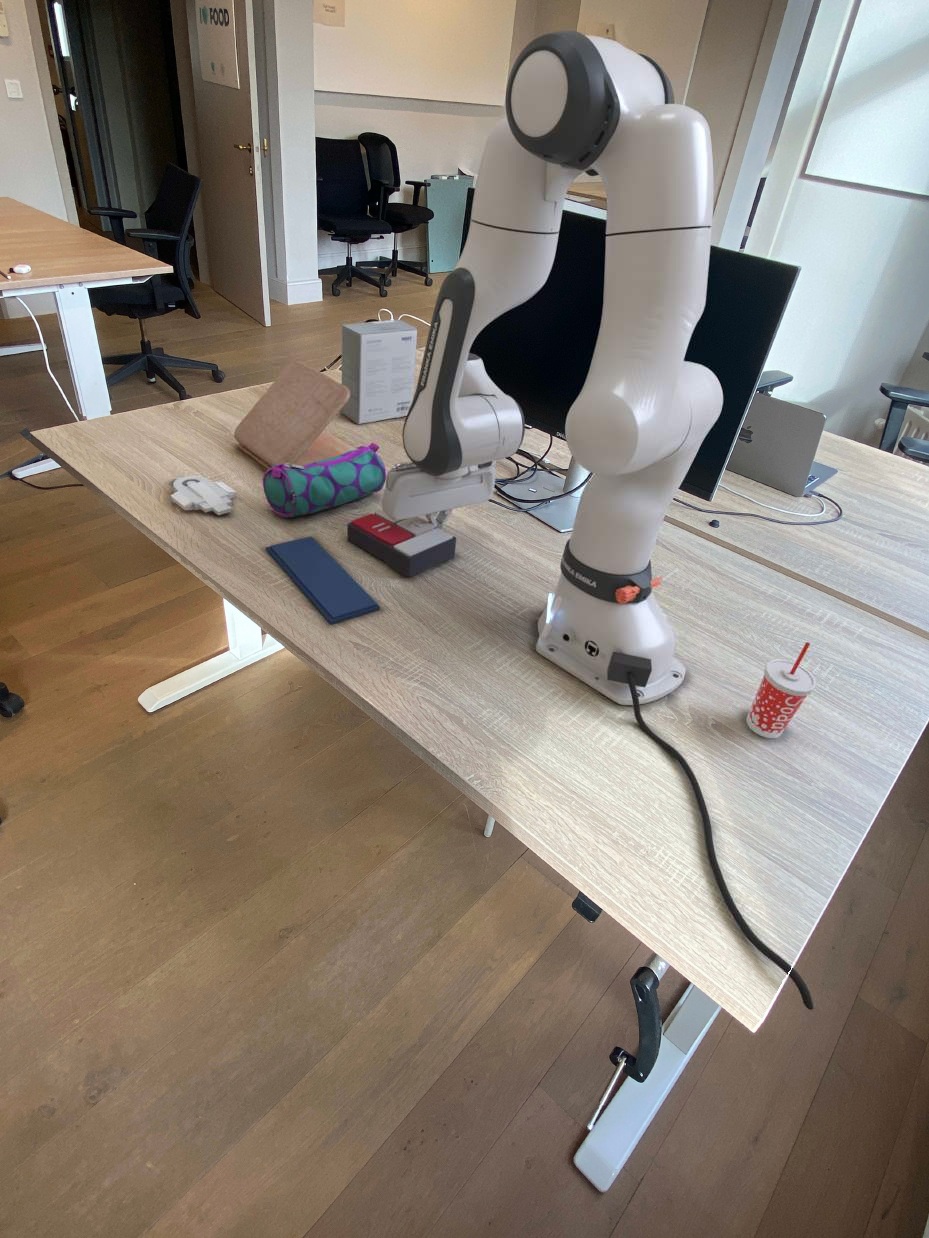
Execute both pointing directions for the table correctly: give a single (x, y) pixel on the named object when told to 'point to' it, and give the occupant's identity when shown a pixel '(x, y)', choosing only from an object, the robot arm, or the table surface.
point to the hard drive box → (378, 369)
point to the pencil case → (324, 482)
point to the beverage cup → (780, 695)
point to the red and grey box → (402, 542)
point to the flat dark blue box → (322, 580)
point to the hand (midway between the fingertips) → (435, 531)
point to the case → (295, 419)
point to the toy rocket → (202, 494)
